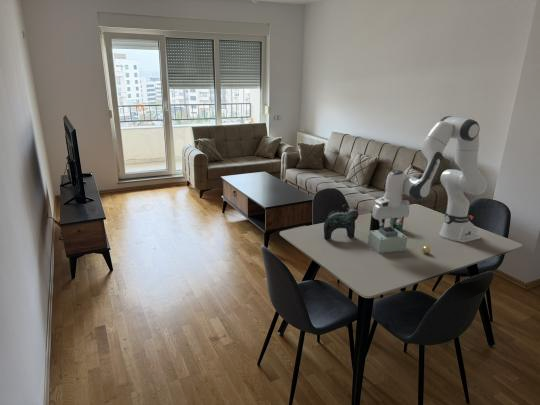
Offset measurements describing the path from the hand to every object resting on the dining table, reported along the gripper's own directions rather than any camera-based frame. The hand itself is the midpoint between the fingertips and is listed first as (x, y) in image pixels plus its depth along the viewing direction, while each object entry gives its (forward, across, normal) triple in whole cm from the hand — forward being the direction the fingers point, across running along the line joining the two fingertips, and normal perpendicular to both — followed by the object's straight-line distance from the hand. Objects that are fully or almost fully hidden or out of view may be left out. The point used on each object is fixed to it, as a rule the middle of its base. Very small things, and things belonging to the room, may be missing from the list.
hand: (389, 225), depth 202 cm
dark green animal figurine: (+13, +20, -17) cm, 29 cm away
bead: (+13, -17, +11) cm, 24 cm away
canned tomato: (+13, -19, -22) cm, 32 cm away
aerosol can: (+13, 0, -12) cm, 18 cm away
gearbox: (+13, 0, 0) cm, 13 cm away
